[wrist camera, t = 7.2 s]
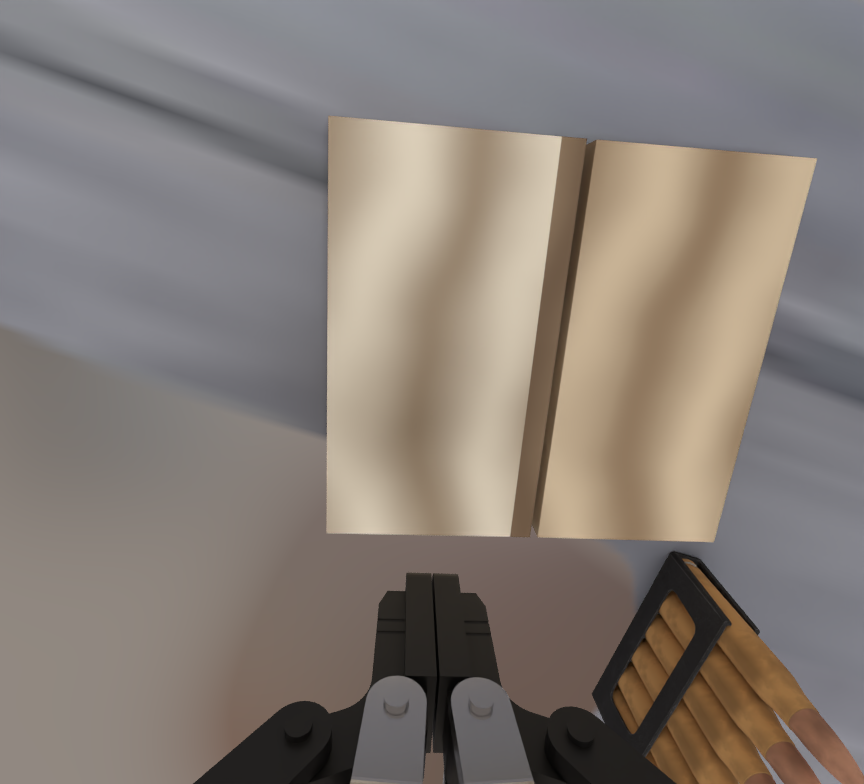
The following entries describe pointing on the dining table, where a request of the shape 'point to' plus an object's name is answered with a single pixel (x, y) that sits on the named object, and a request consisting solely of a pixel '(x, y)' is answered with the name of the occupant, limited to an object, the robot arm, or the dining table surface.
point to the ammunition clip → (711, 691)
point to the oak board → (663, 336)
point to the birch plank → (442, 322)
